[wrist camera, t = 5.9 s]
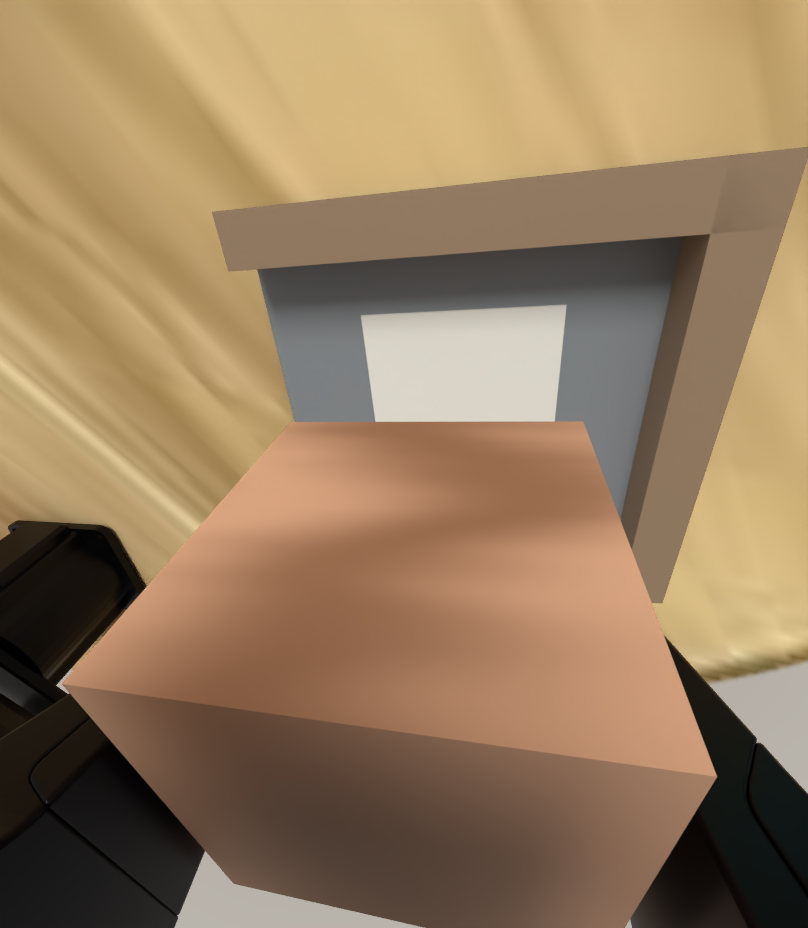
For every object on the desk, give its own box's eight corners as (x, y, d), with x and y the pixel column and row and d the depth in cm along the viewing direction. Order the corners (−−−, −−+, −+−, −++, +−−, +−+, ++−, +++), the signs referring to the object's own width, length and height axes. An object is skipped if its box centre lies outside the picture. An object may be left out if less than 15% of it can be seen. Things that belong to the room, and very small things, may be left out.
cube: (583, 421, 8) (716, 776, 3) (554, 626, 10) (600, 967, 6) (290, 421, 9) (60, 684, 4) (337, 607, 12) (233, 884, 7)
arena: (643, 556, 18) (662, 603, 16) (332, 538, 21) (314, 577, 19) (752, 154, 11) (811, 146, 9) (254, 208, 14) (212, 211, 12)
